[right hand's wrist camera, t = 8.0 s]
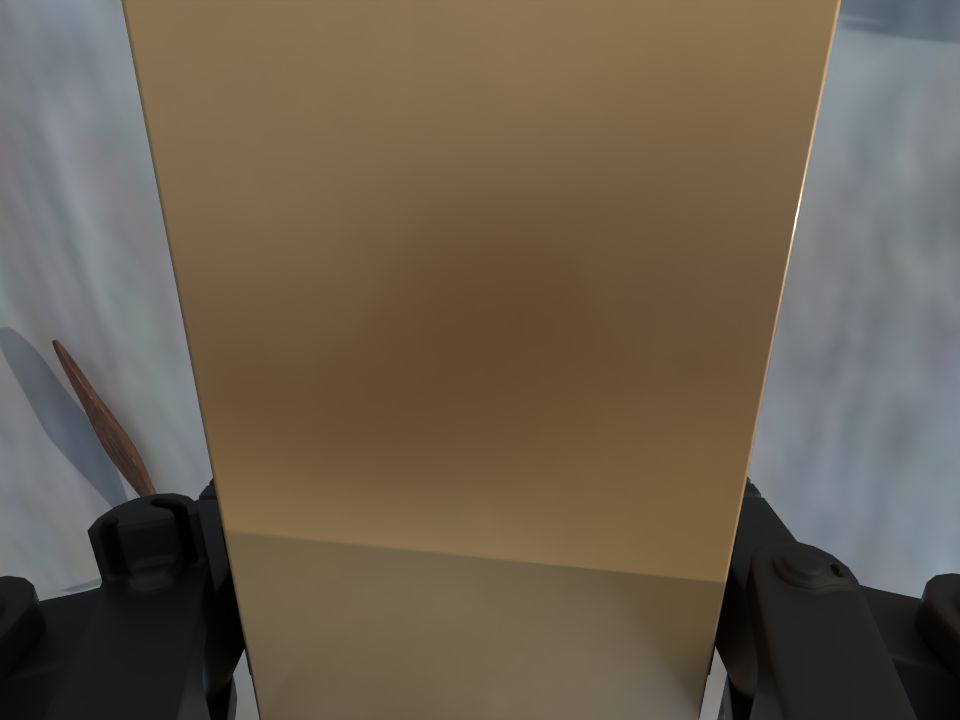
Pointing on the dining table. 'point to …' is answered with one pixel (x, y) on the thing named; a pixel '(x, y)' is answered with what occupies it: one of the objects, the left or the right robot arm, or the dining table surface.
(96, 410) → the fork
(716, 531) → the bar
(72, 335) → the dining table surface
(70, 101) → the dining table surface
